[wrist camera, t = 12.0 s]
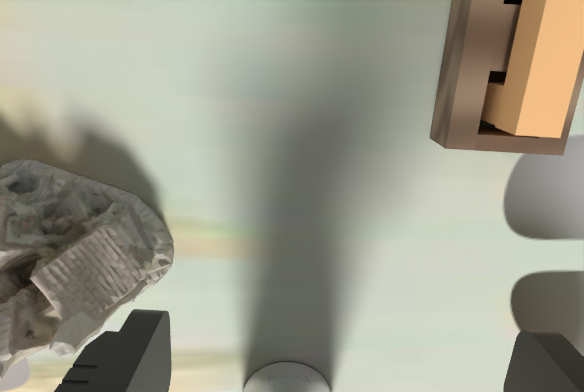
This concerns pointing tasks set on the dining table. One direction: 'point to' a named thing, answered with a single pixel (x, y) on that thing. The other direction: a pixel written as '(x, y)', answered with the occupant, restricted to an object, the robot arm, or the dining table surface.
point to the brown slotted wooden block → (483, 81)
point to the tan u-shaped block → (539, 70)
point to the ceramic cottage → (69, 257)
